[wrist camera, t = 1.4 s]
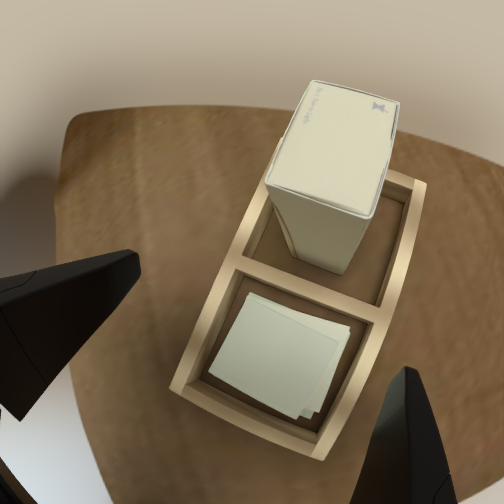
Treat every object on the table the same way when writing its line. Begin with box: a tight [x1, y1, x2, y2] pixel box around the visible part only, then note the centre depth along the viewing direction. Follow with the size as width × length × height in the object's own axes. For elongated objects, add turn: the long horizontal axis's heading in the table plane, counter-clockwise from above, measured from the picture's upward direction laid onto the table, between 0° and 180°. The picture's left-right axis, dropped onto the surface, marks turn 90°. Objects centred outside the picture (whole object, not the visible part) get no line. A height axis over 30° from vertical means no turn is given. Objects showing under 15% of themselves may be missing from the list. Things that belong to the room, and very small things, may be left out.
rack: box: [169, 137, 427, 461], centre depth 20 cm, size 21×12×2 cm, turn 157°
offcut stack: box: [208, 292, 351, 420], centre depth 20 cm, size 7×8×2 cm
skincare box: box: [264, 80, 400, 275], centre depth 16 cm, size 6×4×12 cm
